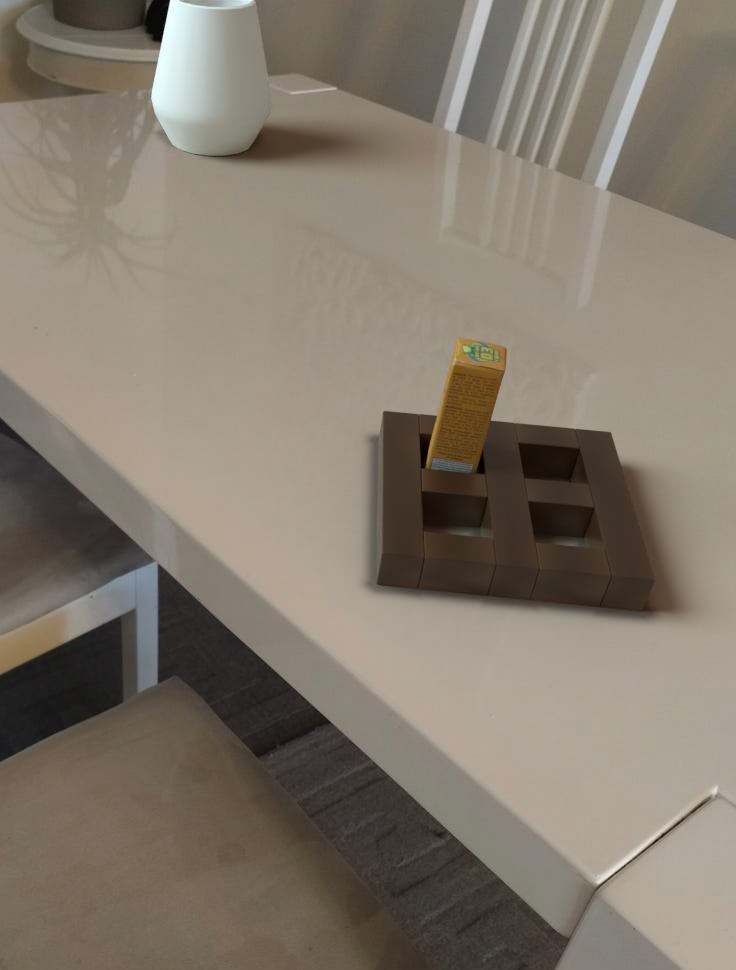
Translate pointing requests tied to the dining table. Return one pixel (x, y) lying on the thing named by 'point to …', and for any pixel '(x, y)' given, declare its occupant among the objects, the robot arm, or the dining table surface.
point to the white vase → (212, 77)
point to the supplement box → (466, 406)
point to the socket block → (510, 517)
